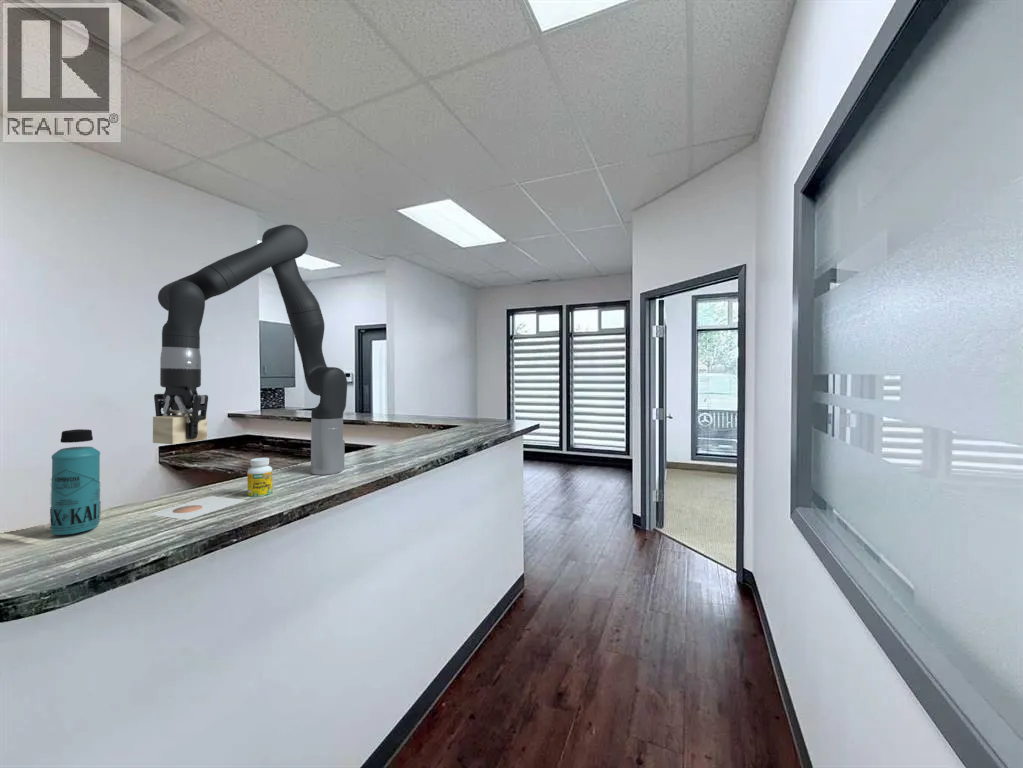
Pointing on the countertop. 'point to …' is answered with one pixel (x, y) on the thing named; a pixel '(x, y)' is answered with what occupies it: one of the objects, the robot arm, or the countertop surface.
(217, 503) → the board
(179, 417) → the block
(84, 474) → the beverage bottle
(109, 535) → the countertop surface
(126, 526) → the countertop surface
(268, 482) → the supplement bottle
